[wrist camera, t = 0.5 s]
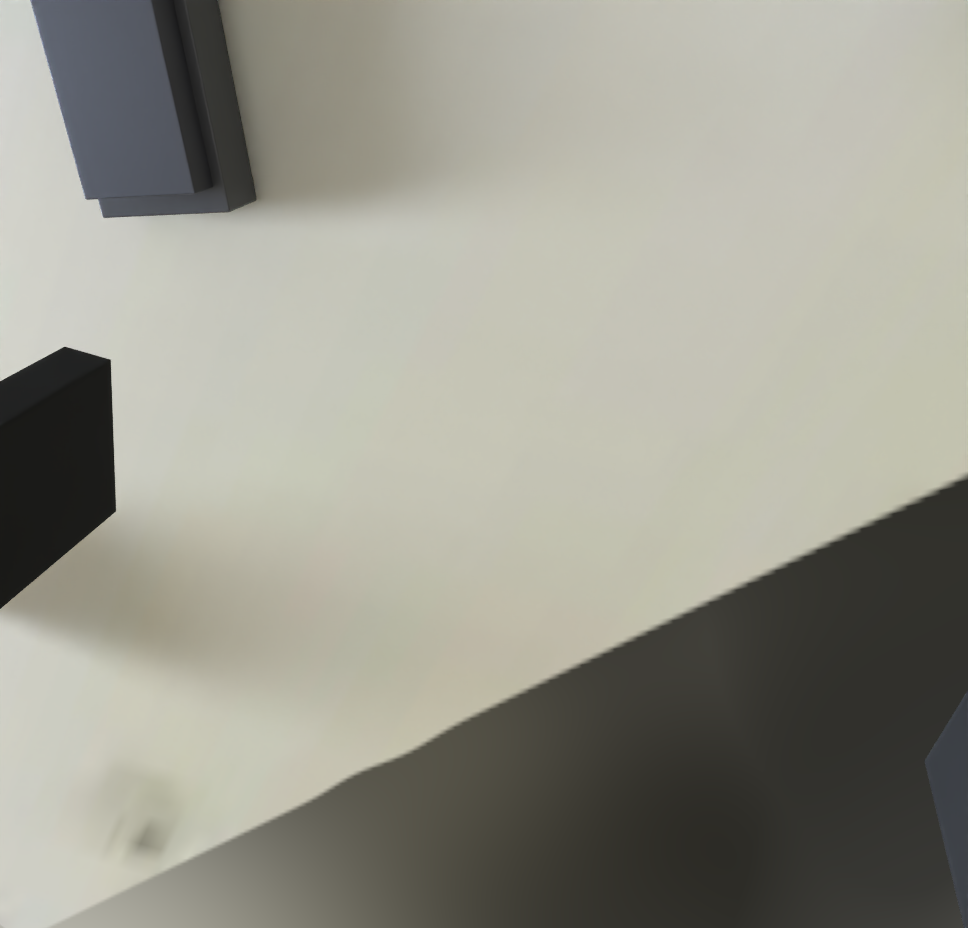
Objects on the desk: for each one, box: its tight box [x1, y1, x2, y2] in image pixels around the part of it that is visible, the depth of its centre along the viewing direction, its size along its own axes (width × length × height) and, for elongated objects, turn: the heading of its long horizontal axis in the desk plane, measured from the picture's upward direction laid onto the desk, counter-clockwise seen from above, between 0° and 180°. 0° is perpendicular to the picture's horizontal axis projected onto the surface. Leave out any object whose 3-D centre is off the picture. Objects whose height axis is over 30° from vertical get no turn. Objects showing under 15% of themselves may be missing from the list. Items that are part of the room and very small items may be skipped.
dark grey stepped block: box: [30, 0, 256, 218], centre depth 35 cm, size 11×6×4 cm, turn 6°
